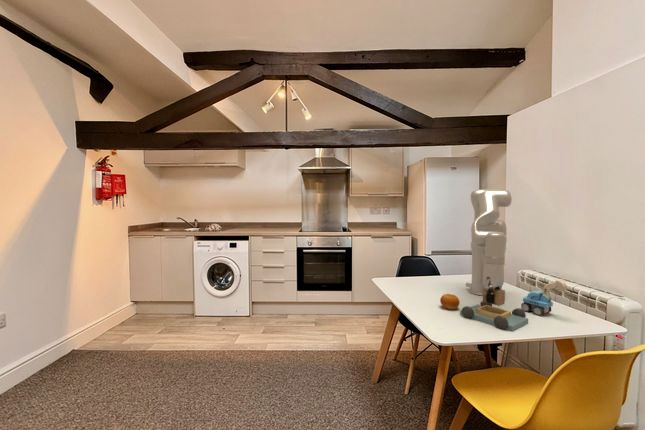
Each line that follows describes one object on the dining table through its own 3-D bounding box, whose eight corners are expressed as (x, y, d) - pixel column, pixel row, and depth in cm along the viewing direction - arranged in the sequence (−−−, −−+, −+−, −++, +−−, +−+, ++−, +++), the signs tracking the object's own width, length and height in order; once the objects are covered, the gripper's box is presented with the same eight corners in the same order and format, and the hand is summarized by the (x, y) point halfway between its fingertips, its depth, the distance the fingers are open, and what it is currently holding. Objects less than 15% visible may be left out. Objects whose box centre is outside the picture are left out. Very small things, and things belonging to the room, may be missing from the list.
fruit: (463, 300, 149) (454, 287, 148) (462, 311, 142) (452, 297, 141) (447, 304, 154) (438, 292, 153) (445, 315, 147) (436, 302, 146)
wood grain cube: (482, 301, 135) (483, 288, 135) (488, 299, 138) (488, 286, 138) (499, 306, 129) (499, 292, 129) (504, 303, 132) (505, 290, 132)
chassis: (458, 315, 138) (458, 304, 138) (478, 308, 148) (478, 298, 148) (510, 332, 120) (511, 319, 120) (529, 322, 130) (529, 311, 130)
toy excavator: (558, 322, 131) (559, 282, 131) (518, 310, 146) (519, 274, 146) (568, 318, 135) (569, 280, 135) (528, 307, 150) (529, 273, 149)
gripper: (495, 258, 141) (494, 296, 141) (476, 261, 131) (475, 302, 132) (512, 260, 135) (511, 300, 135) (494, 264, 125) (492, 307, 125)
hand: (493, 301), depth 133 cm, fingers closed on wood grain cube, 5 cm apart
